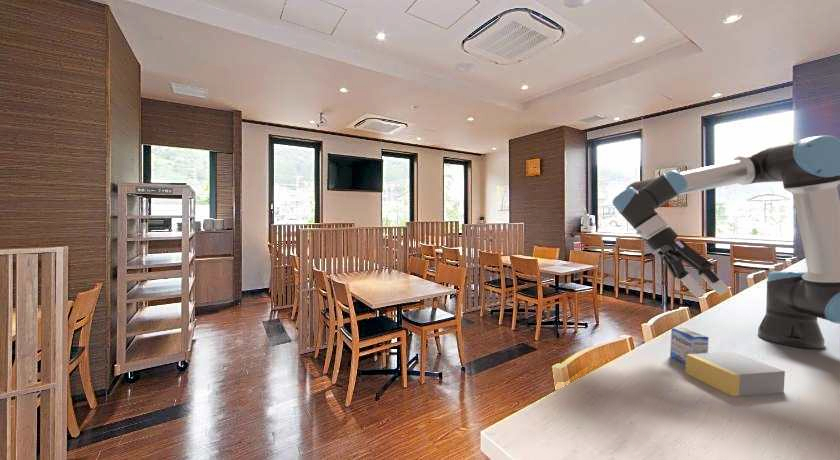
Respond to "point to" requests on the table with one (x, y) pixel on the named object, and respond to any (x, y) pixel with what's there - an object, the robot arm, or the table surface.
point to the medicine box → (687, 343)
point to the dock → (735, 373)
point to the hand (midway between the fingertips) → (712, 294)
